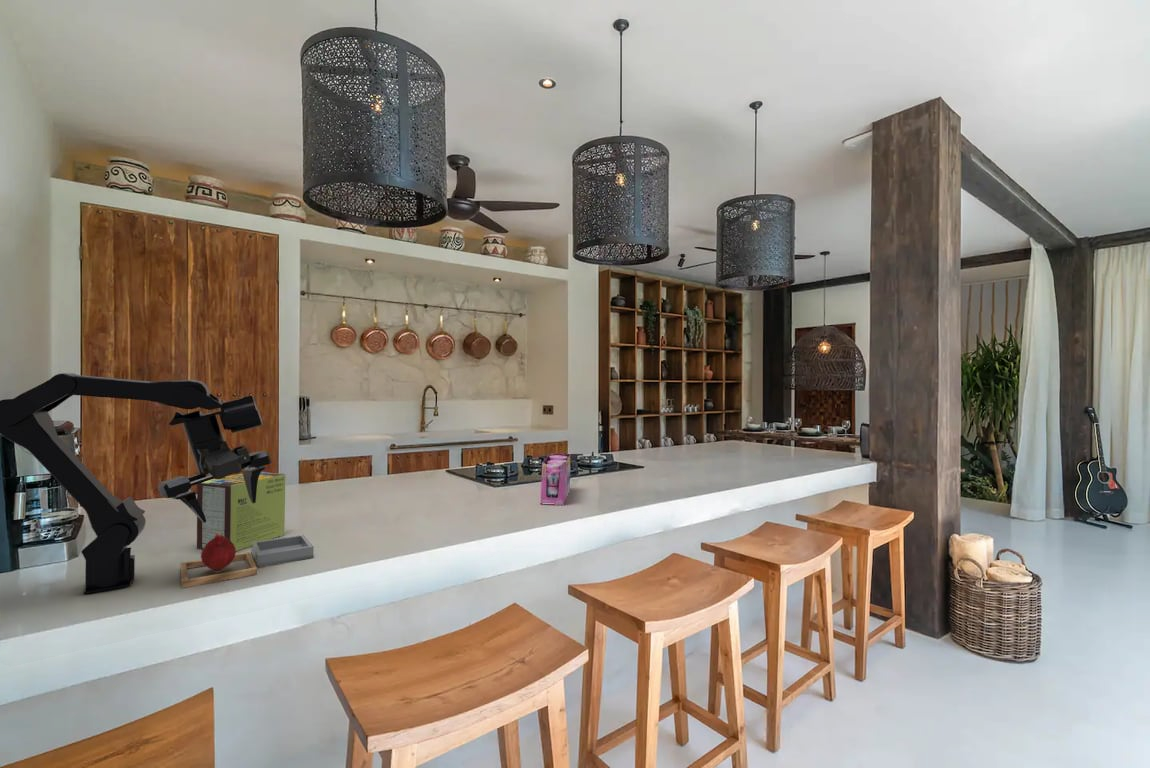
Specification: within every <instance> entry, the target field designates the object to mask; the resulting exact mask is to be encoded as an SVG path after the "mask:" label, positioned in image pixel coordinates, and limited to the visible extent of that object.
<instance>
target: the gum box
mask: <svg viewBox="0 0 1150 768" xmlns="http://www.w3.org/2000/svg"><path fill="white" fill-rule="evenodd" d="M540 482H541V484H540V486H541V487H540V504H541V503H554V504H564V502H565V500H566V501H567V499H568V497H569V495H568V493H569V494H570V492H571V453H549V454H548V455H547V457H546V458H545V459H544V460H543V461H542V463H541V481H540ZM569 491H570V492H569ZM567 496H568V497H567ZM566 498H567V499H566ZM565 503H566V502H565ZM564 505H565V504H564Z"/></svg>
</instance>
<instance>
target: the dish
mask: <svg viewBox="0 0 1150 768" xmlns="http://www.w3.org/2000/svg"><path fill="white" fill-rule="evenodd" d="M251 555H252V558H253V560H254V562H255V565H256V564H257V565H256V567H257V568H262V567H261V566H263V567H267V566H266V565H269V566H274V565H273V564H275V565H279V564H280V565H281V564H285V562H286V563H291V562H297V561H301V560H309V559H313V558H314V545H313V544H312V542H310V540H309V539H308V537H306V535H304V534H299V535H293V536H286V537H284V536H283V537H280V538H279V537H277V538H274V539H271V540H264V541H258V542H252V546H251ZM278 563H279V564H278Z"/></svg>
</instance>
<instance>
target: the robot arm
mask: <svg viewBox="0 0 1150 768" xmlns="http://www.w3.org/2000/svg"><path fill="white" fill-rule="evenodd" d="M72 396H81V397H82V396H83V397H94V398H95V397H97V398H109V399H110V398H111V399H122V400H123V399H124V400H138V401H149V402H153V403H157V404H160V405H164V406H168V407H174V408H177V409H182V410H195V409H197V408H200V410H195V411H191V412H187V413H183V412H181V411H179V410H178V411H176V412H175V413H174V415H173V418H172V419H171V420H170V421H169V423H168V425H170V426H175V425H180V424H182V427H183V429H184V432H185V433H184V434H185V436H186V438H187V443H188V445H189V450H190V454H191V455H192V456H193V459H194V463H195V465H196V472H197V473H198V474H195V475H192V476H189V477H188V476H183V475H178V476H175V477H173V478H170V479H169V478H168V479H167V480H163V481H160V482H159V483H158V486H157V488H158V492H159V496H160V497H162V498H165V499H172V500H177V501H178V500H180V502H182V503H184V504H185V505H186V506H187V507H188V508H189V509H190V510H191V511H192V513H193V514H195V516H196V518H197V517H198V518H199V519H200V520H201V521H202V522H204V523H205V522H206V518H205V515H204V513H203V511H202V509H201V507H200V504H199V502H198V500H197V493H196V491H194V490H191V489H192V486H193V487H194V486H196V485H197V484H199V483H202V482H205V481H208V480H211V479H222V478H225V477H226V476H231V475H237V474H243V477H244V480H245V484H246V488H247V491H248V495H249V498H250V500H251V502H252V503H256V493H257V483H258V478H259V475H260V473H261V472H263V471H265V470H266V468H267V465H270V464H272V459H271V456H270V455H269V453H268V452H266V451H253V452H251V453H249V450H248V447H247V446H246V445H239V446H236V447H234V448H233V449H231V448H230V447H229V444H228V443H227V440H225V438H224V436H223V432H222V429H221V426H220V423H219V421H218V417H217V416H218V415H219V418H220V422H221V425H222V427H223V429H224V431H231V433H232V434H236V433H239V432H243V431H247V430H251V429H255V428H259V427H263V425H264V423H263V419H262V416H261V412H260V409H259V408H258V407H257V405H256V401H255V399H254V395H252V394H251V395H246V396H243V397H242V398H237V399H233V400H229V401H223V400H222V399H221V398H218V397H217V396H215V395H214V394H212V393H211V391H210V388H209V386H208V385H207V384H206V383H204V382H203V381H201V380H199V379H198V380H197V379H185V380H184V379H183V380H182V379H181V380H162V381H149V380H139V379H137V380H136V379H125V378H113V377H101V376H91V375H89V376H88V375H81V374H76V373H71V372H70V373H69V372H68V373H58V374H55V375H53V376H52V377H51V378H50V379H48V380H46V381H44V382H43V383H41V384H39V385H36V386H34V387H33V388H30V389H29V390H26V391H24V392H22V393H20V394H19V395H17V396H15V397H14V398H9V399H7V398H6V399H2V400H0V435H1V436H3V437H4V438H5V439H7V440H8V441H10V442H12V443H14V444H16V445H18V446H20V447H22V448H24V449H26V451H29V453H31V455H32V456H33V457H34V458H35V459H36V460H37V461H38V462H39V463H40V464H41V465H42V467H44V468H45V470H47V472H49V474H50V475H51V476H52V477H53V478H54V479H55V480H56V482H58V483H59V484H60V485H61V487H62V488H64V490H65V491H66V492H67V493H68V494H69V495H70V496H71V497H72V498H73V500H74V501H76V502H77V503H78V504H79V506H81V507H82V509H83V510H84V511H85V513H86V515H87V518H88V520H89V524H90V526H91V529H92V531H93V532H94V533H95V535H96V537H95V538H94V539H93V540H92V541H91V542H90V543H88V545H86V546H85V547H84V548H83V549H82V550H81V554H82V556H83V558H84V560H85V568H84V569H85V573H84V574H85V578H84V579H85V581H84V583H85V585H84V589H83V593H82V594H83V595H85V594H93V593H98V592H103V591H104V592H105V591H110V590H117V589H120V588H121V589H122V588H126V587H127V588H128V587H130V586H131V584H132V581H134V580H135V576H136V556H135V554H132V547H128V546H130V545H131V544H132V543H133V542H134V541H135V540H136V539H137V538H138V537H139V536H140V534H141V533H142V532H143V531H144V529H145V527H146V517H145V516H144V514H145V513H146V510H144V509H142V508H140V507H139V506H138V505H137V504H136V502H135V500H134V498H132V496H128V497H127V498H126V499H124V501H123V500H122V499H119V498H118V497H116V496H115V495H113V494H112V493H110V491H109V490H108V489H107V488H106V487H105V486H104V485H103V483H101V481H100V480H99V479H98V478H97V477H96V476H95V475H94V474H93V473H92V472H91V470H89V468H88V467H87V466H86V465H85V464H84V463H83V462H82V461H81V459H79V458H78V456H77V455H76V454H75V453H74V452H73V451H72V449H70V448H69V446H68V445H67V444H66V443H65V442H64V441H63V440H62V439H61V438H60V437H59V435H58V433H57V430H56V426H55V423H54V421H53V419H52V417H51V415H50V414H49V412H50V411H52V410H53V409H56V408H57V407H59V406H60V405H61V404H63V403H65V401H67V400H68V399H70V398H71V397H72ZM201 409H202V410H203V409H204V410H209V411H213V410H216V409H220V410H217V411H213V412H210V413H203V412H202V410H201ZM116 588H117V589H116Z"/></svg>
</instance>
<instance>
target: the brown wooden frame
mask: <svg viewBox="0 0 1150 768" xmlns="http://www.w3.org/2000/svg"><path fill="white" fill-rule="evenodd" d="M244 560H245V561H246V564H247V566H248V568H244V569H239V570H234V571H233V570H232V571H227V572H223V573H222V572H221V573H216V574H210V575H203V576H199V577H198V576H197V577H193V578H188V569H187V568H190V569H195V568H194V567H196V568H200V567H201V566H202V567H206V566H205V565H204V563H203V562H202V559H198V560H191V561H184V562H180V579H181V580H180V582H181V589H185V588H190V586H191V587H195V586H202V585H207V584H211V583H212V582H213V583H218V582H223V580H224V581H228V580H227V579H229V580H234V578H235V579H240V578H245V576H246V577H251V576H254V575H255V576H257V575H258V567H257V565H256V562H255V560H254V558H253V556H252V552H250V551H248V552H241V553H236V554H235V557H234V559H233V561H232V562H238V561H244ZM256 574H257V575H256ZM217 581H218V582H217ZM213 583H212V584H213ZM201 584H202V585H201ZM184 587H185V588H184Z"/></svg>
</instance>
